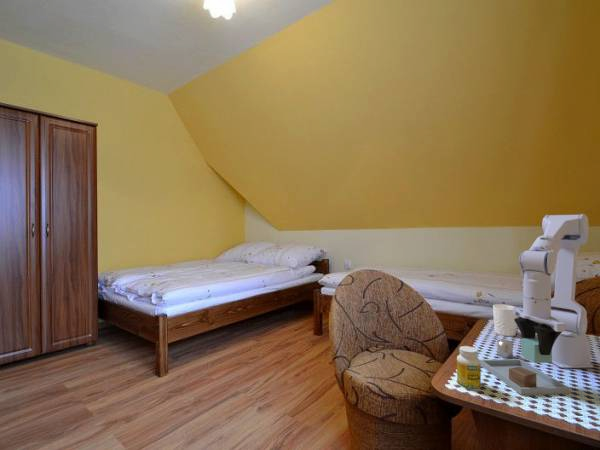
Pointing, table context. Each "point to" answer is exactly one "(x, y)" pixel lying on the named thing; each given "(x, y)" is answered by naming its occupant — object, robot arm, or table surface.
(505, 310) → the white cup
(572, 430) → the table surface
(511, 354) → the cylinder
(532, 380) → the walnut cube
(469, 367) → the supplement bottle
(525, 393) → the tray
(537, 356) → the teal block
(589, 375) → the table surface
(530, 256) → the robot arm
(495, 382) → the table surface
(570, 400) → the table surface
